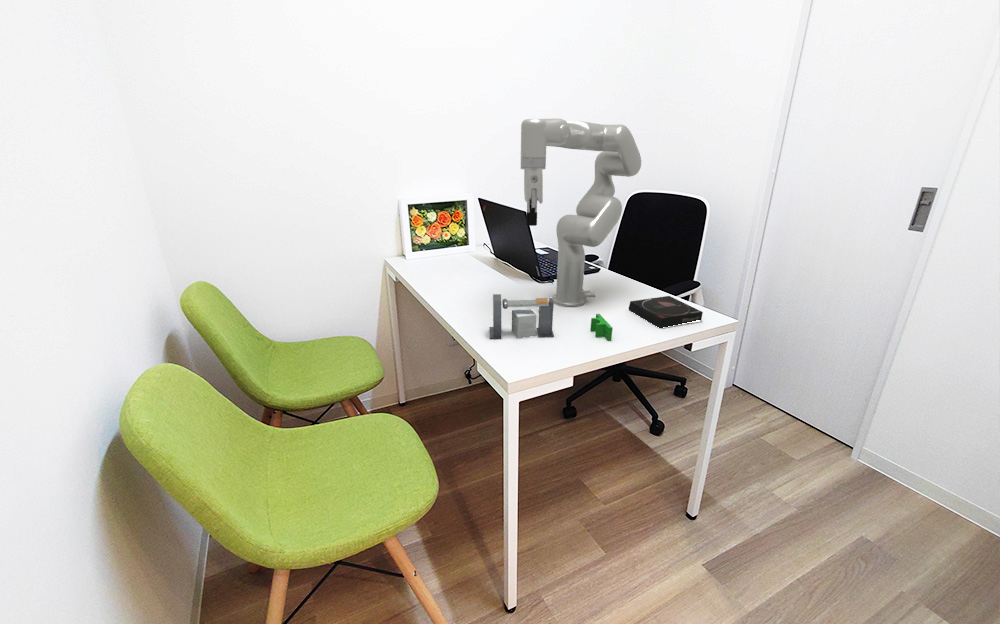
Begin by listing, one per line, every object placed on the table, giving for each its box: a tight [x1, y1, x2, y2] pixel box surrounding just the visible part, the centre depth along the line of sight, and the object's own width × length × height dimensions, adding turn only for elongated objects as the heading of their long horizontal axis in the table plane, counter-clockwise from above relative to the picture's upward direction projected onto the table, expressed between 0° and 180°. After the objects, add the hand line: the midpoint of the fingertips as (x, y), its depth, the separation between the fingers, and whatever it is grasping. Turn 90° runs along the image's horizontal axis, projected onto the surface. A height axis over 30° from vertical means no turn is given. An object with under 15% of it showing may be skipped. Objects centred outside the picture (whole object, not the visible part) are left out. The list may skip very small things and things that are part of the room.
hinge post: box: [489, 293, 502, 340], centre depth 136 cm, size 4×8×12 cm, turn 2°
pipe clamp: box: [589, 313, 614, 342], centre depth 137 cm, size 11×4×5 cm, turn 8°
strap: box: [501, 297, 549, 310], centre depth 134 cm, size 14×4×2 cm, turn 92°
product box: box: [511, 307, 537, 339], centre depth 137 cm, size 6×6×7 cm
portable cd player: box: [628, 295, 704, 329], centre depth 151 cm, size 16×17×4 cm
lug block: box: [536, 297, 555, 338], centre depth 136 cm, size 5×6×11 cm
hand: (531, 225), depth 140 cm, fingers closed
